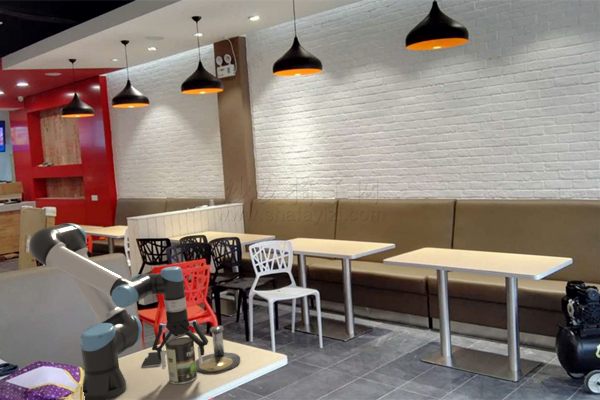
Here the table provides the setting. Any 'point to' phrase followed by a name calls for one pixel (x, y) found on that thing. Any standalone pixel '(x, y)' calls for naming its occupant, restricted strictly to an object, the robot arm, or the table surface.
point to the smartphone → (152, 360)
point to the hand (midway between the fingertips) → (182, 365)
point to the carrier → (217, 355)
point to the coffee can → (181, 360)
